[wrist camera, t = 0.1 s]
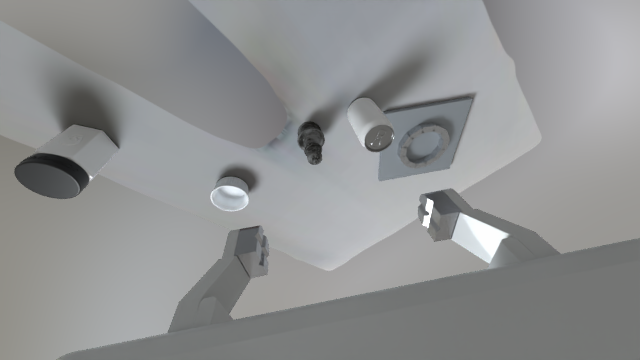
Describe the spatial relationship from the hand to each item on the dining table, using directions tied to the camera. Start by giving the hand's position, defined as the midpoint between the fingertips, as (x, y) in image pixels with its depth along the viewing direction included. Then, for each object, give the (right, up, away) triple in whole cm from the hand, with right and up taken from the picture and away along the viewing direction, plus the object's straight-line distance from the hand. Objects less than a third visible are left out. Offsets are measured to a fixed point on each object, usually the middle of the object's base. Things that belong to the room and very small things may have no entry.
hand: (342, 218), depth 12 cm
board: (+24, +12, +46) cm, 53 cm away
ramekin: (-24, 0, +48) cm, 53 cm away
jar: (-47, +9, +35) cm, 60 cm away
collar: (+24, +11, +45) cm, 52 cm away
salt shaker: (-4, +13, +40) cm, 42 cm away
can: (+8, +17, +39) cm, 43 cm away
